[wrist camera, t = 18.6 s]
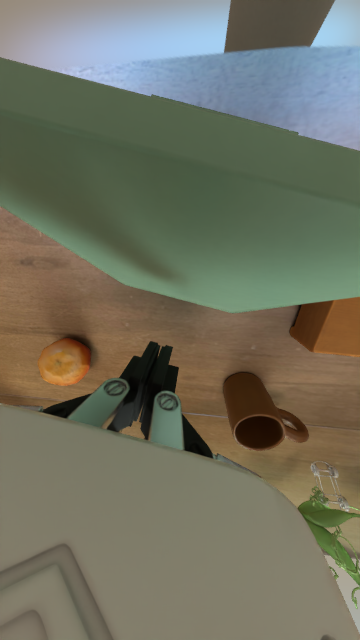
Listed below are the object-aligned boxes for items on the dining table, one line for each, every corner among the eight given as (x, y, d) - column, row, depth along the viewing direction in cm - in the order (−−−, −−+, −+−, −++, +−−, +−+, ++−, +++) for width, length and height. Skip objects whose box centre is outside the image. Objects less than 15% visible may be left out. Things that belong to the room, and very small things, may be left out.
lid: (-243, -10, 2) (-257, 44, 2) (608, 212, 2) (595, 266, 2) (125, 277, 19) (123, 284, 19) (235, 306, 19) (233, 313, 19)
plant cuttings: (362, 461, 45) (480, 481, 27) (404, 565, 36) (629, 705, 18) (229, 449, 48) (253, 459, 30) (236, 541, 39) (277, 640, 20)
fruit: (48, 368, 34) (17, 376, 26) (71, 334, 36) (48, 331, 28) (85, 386, 35) (66, 398, 27) (106, 351, 36) (93, 353, 28)
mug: (291, 380, 32) (329, 427, 23) (276, 410, 34) (304, 463, 25) (228, 367, 32) (241, 408, 23) (217, 398, 34) (225, 445, 26)
